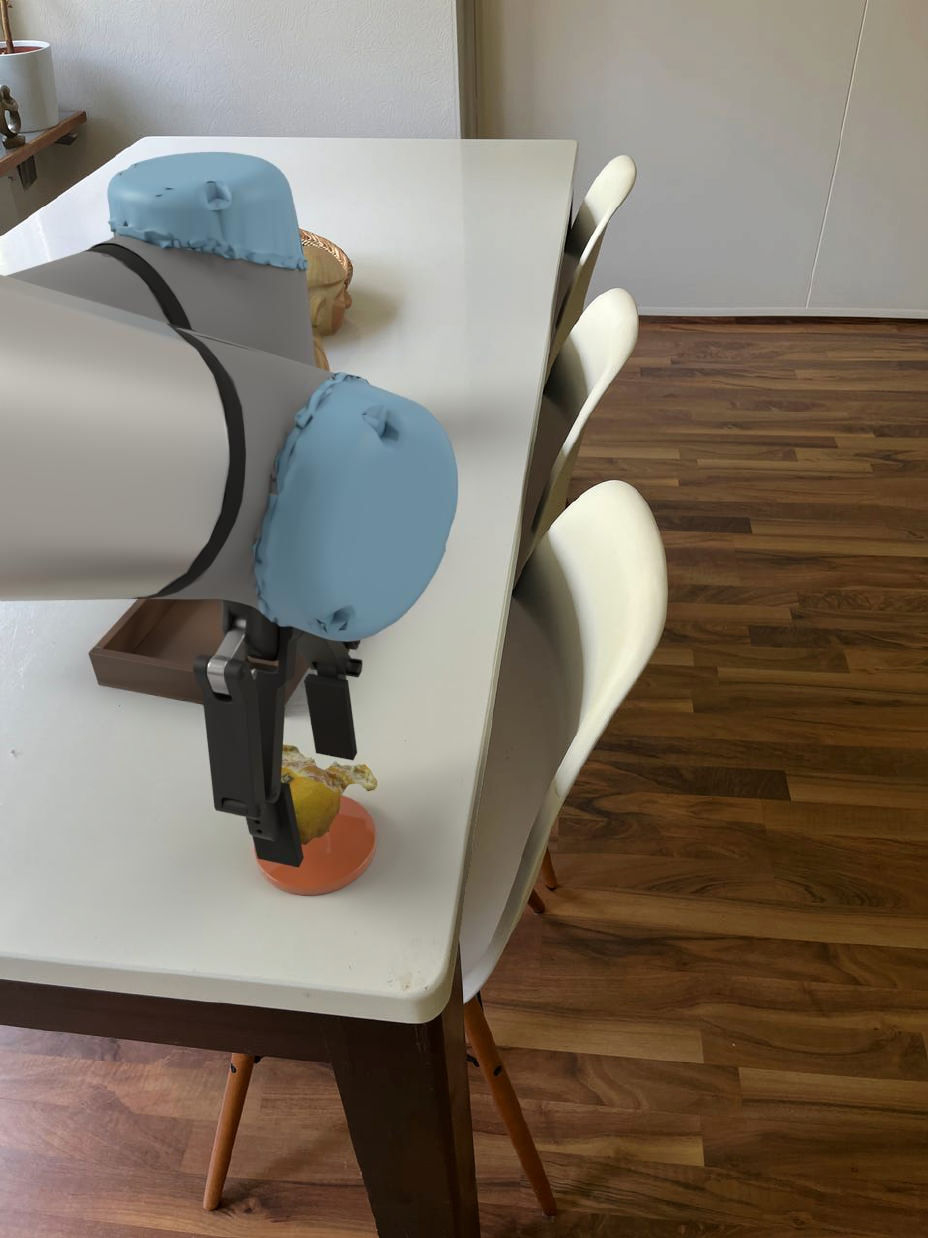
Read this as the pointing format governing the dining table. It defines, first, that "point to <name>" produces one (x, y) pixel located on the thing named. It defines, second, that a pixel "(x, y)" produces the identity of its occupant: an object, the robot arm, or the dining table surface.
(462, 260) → the dining table surface
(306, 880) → the plate
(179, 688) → the bin
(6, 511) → the robot arm
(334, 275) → the ceramic vessel
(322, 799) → the fruit
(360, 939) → the dining table surface
